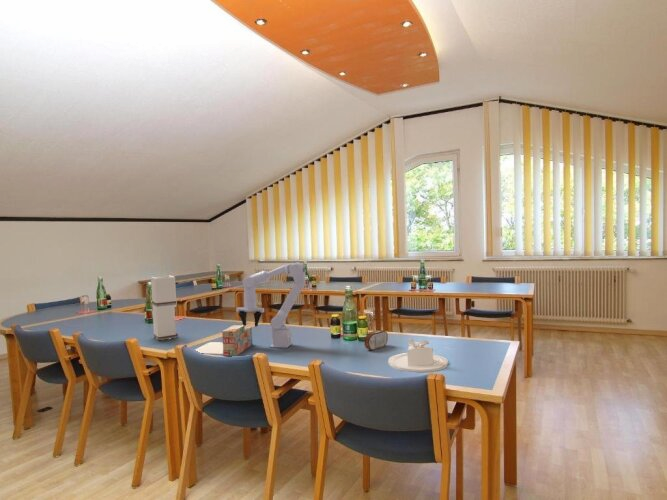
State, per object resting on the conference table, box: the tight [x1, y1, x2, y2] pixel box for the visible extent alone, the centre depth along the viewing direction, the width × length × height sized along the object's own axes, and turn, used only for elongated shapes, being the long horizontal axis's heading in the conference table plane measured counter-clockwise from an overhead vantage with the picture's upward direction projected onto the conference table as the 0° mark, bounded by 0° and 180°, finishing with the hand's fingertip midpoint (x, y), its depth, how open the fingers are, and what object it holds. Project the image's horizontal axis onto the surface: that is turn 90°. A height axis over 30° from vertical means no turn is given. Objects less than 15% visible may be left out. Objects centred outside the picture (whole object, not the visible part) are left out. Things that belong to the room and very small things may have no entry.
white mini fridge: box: [150, 275, 179, 341], centre depth 245 cm, size 11×11×35 cm
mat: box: [194, 341, 223, 355], centre depth 218 cm, size 18×20×1 cm
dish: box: [388, 338, 449, 373], centre depth 182 cm, size 25×25×11 cm
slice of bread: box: [364, 329, 389, 351], centre depth 207 cm, size 15×3×8 cm, turn 134°
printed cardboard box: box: [222, 324, 253, 357], centre depth 213 cm, size 21×6×12 cm, turn 169°
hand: (250, 325), depth 219 cm, fingers open, 6 cm apart
